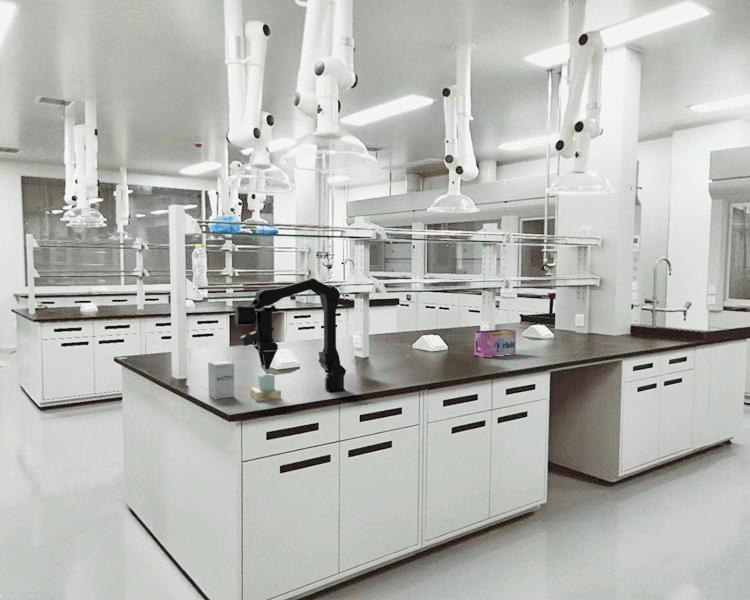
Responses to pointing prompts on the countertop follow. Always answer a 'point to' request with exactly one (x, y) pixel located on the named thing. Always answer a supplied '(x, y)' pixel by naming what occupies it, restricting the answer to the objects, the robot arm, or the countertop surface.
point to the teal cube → (266, 382)
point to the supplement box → (221, 379)
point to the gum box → (495, 342)
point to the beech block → (265, 394)
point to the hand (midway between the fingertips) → (264, 367)
